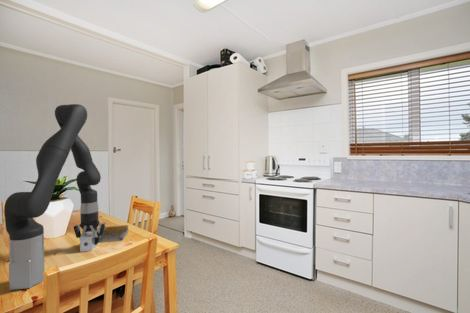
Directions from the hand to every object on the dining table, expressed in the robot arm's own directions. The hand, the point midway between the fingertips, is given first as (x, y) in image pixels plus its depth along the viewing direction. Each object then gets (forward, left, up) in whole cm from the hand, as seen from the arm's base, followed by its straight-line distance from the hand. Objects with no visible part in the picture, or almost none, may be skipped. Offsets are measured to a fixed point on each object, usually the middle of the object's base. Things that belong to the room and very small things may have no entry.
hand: (90, 244), depth 114 cm
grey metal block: (0, 0, -1) cm, 1 cm away
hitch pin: (+21, +2, -1) cm, 21 cm away
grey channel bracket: (+13, -7, -1) cm, 15 cm away
